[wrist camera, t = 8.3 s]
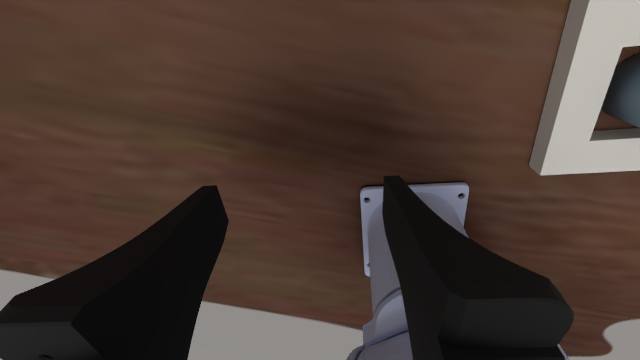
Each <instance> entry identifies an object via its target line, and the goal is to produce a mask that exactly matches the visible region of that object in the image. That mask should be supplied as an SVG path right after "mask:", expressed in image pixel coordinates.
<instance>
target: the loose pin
mask: <svg viewBox="0 0 640 360" xmlns="http://www.w3.org/2000/svg"><path fill="white" fill-rule="evenodd" d="M601 108H602V110H603V111H604V112H605V113H607V114H608V115H610V116H613V117H615V118H617V119H620V120H622V121H624V122H626V123H629V124H631V125H633V126H636V127H638V128H640V53H638V54H635V55H633V56H631V57H629V58H628V59H626V60H624V61H623V62H621V63H620V64H619V65H618V66H616V67H615V70H614V73H613V76H612V79H611V82H610V84H609V87H608V90H607V93H606V96H605V99H604V101H603V104H602V107H601Z"/></svg>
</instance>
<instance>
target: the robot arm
mask: <svg viewBox="0 0 640 360" xmlns="http://www.w3.org/2000/svg"><path fill="white" fill-rule="evenodd" d="M460 193H463V195H462V196H458V195H459V194H460ZM468 194H469V187H468V185H467V184H466V183H463V182H457V183H437V184H417V185H407V184H406V183H405V182H404V181H403V179H402V178H401V177H400V176H384V186H377V187H364V188H362V189H361V191H360V201H361V218H362V235H363V252H364V269H365V275H367V276H370V281H371V295H372V310H373V319H372V320H371V321H370V322H369V323H367V324H365V325H363V345H362V346H360V347H358V348H356V349H354V350H353V351H352V352H351V353H350V354H349V356H348V358H347V360H569V359H568V357H567V355H566V354H565V352H564V351H563V349H562V348H561V346H560V345H559V342H560V341H561V340H562V338H563V337H564V335H565V334H566V333H567V331H568V330H569V328H570V326H571V324H572V322H573V320H574V315H573V311H572V310H571V308H570V307H569V305H568V304H567V303H566V301H565V300H564V298H563V297H562V295H561V294H560V292H559V291H558V290H557V288H556V287H555V286H554V285H553V284H552V282H551V281H550V280H549V279H548V278H546V277H544V276H541V275H539V274H537V273H535V272H532V271H530V270H528V269H525V268H523V267H521V266H519V265H516V264H514V263H512V262H510V261H508V260H506V259H504V258H502V257H501V256H499V255H497V254H495V253H493V252H491V251H489V250H488V249H486V248H484V247H482V246H481V245H479V244H477V243H476V242H474V241H473V240H471V239H469V237H468V235H467V233H466V231H465V229H464V220H465V214H466V207H467V201H468ZM364 198H370V199H369V200H364ZM228 221H229V220H228V218H227V215H226V212H225V209H224V206H223V203H222V200H221V197H220V194H219V191H218V188H217V185H215V186H203V187H201V188H200V189H198V190H197V191H196V192H194V193H193V194H192V195H191V196H189V197H188V198H187V199H186V200H184V201H183V202H182V203H181V204H179V205H178V206H177V207H176V208H174V209H173V210H172V211H171V212H169V213H168V214H167V215H166V216H164V217H163V218H162V219H160V220H159V221H158V222H156V223H155V224H153V225H152V226H151V227H149V228H148V229H147V230H145V231H144V232H142V233H141V234H139V235H138V236H136V237H135V238H133V239H132V240H130V241H129V242H127V243H125V244H124V245H122V246H120V247H119V248H117V249H115V250H113V251H112V252H110V253H108V254H106V255H104V256H103V257H101V258H99V259H97V260H95V261H93V262H91V263H89V264H87V265H85V266H83V267H81V268H79V269H77V270H75V271H73V272H71V273H69V274H66V275H64V276H62V277H60V278H57V279H55V280H53V281H50V282H48V283H45V284H43V285H41V286H38V287H36V288H33V289H31V290H28V291H26V292H24V293H20V294H18V295H16V296H14V297H13V298H12V300H11V301H10V302H9V303H8V304H7V305H6V306H5V307H4V308H3V309H2V310H1V311H0V358H1V359H3V360H187V358H188V353H189V348H190V344H191V339H192V335H193V331H194V327H195V323H196V319H197V315H198V312H199V308H200V304H201V301H202V297H203V294H204V291H205V288H206V285H207V283H208V280H209V278H210V275H211V273H212V270H213V268H214V265H215V263H216V260H217V258H218V255H219V252H220V250H221V247H222V245H223V242H224V238H225V234H226V230H227V226H228ZM368 263H369V264H368Z"/></svg>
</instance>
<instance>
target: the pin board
mask: <svg viewBox="0 0 640 360" xmlns="http://www.w3.org/2000/svg"><path fill="white" fill-rule="evenodd" d="M630 46H640V0H571V2H570V6H569V10H568V14H567V18H566V22H565V26H564V29H563V33H562V37H561V41H560V45H559V49H558V53H557V57H556V61H555V65H554V68H553V72H552V76H551V80H550V84H549V88H548V92H547V96H546V100H545V104H544V107H543V111H542V115H541V119H540V123H539V127H538V131H537V135H536V139H535V143H534V146H533V150H532V154H531V158H530V162H529V166H530V167H531V168H532V169H534V170H535V171H536V172H537V173H538V174H539V175H558V174H578V173H597V172H617V171H637V170H640V128H630V129H615V130H601V131H593V130H594V127H595V124H596V121H597V118H598V116H599V113H600V110H601V107H602V104H603V101H604V99H605V96H606V93H607V90H608V87H609V84H610V82H611V79H612V76H613V73H614V70H615V67H616V65H617V62H618V59H619V56H620V53H621V50H622V48H623V47H630Z"/></svg>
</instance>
